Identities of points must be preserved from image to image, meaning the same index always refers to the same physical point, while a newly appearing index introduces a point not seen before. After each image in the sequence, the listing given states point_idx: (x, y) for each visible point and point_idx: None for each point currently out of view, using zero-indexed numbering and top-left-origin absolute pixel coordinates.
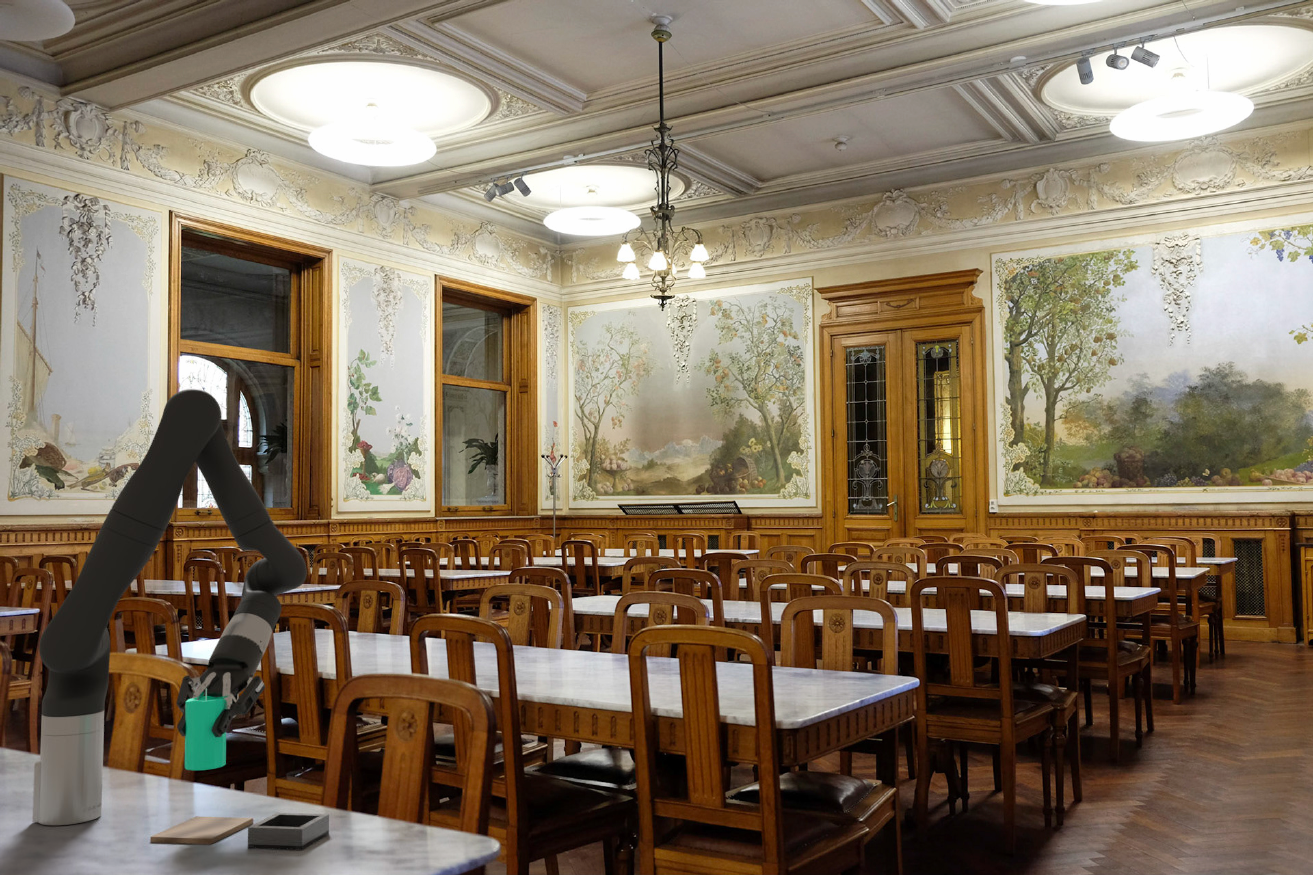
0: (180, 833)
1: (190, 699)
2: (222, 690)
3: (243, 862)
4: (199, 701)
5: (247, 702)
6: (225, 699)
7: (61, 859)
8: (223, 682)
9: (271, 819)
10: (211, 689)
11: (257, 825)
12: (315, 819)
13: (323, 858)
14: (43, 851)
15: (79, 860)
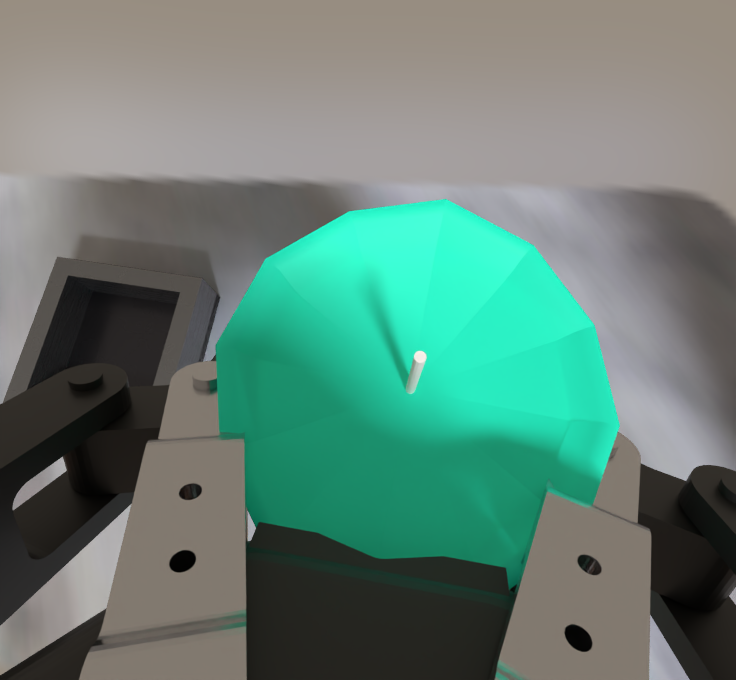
0: None
1: (594, 409)
2: (273, 555)
3: (198, 197)
4: (399, 210)
5: (46, 539)
6: (219, 419)
7: (624, 228)
8: (239, 613)
9: (161, 362)
10: (447, 607)
11: (182, 296)
12: (35, 350)
13: (32, 219)
14: (718, 290)
15: (576, 220)
